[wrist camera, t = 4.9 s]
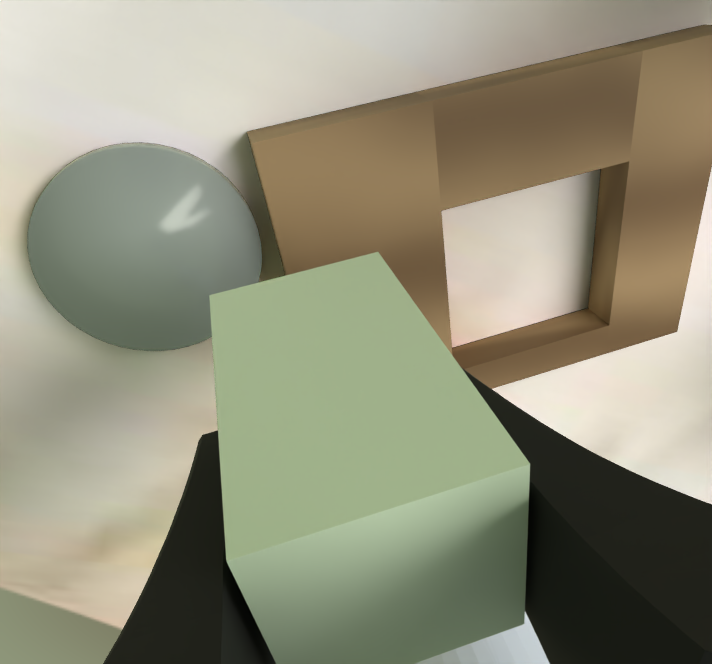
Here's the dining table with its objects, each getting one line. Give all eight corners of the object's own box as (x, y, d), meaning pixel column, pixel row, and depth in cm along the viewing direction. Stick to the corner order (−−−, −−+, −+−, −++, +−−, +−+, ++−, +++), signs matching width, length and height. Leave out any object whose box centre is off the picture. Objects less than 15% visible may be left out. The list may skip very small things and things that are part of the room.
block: (396, 382, 15) (524, 624, 9) (254, 423, 15) (296, 705, 9) (378, 251, 13) (530, 463, 7) (209, 295, 12) (226, 561, 7)
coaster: (281, 311, 20) (283, 319, 20) (91, 364, 20) (88, 374, 19) (226, 118, 17) (227, 122, 16) (-15, 174, 16) (-22, 180, 15)
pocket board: (653, 314, 26) (676, 331, 24) (322, 414, 24) (330, 438, 22) (704, 24, 19) (740, 27, 18) (246, 131, 17) (251, 143, 16)
